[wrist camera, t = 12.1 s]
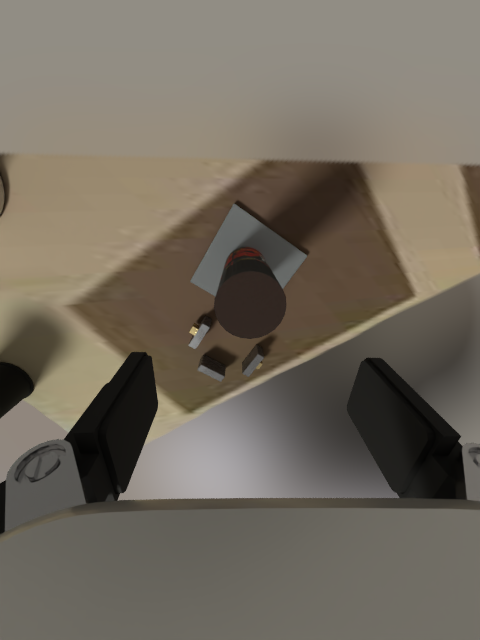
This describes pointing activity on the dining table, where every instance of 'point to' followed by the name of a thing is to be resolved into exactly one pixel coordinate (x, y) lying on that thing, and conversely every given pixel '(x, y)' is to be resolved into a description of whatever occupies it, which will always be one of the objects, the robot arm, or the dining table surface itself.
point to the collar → (213, 366)
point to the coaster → (246, 233)
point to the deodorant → (249, 295)
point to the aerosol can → (13, 386)
